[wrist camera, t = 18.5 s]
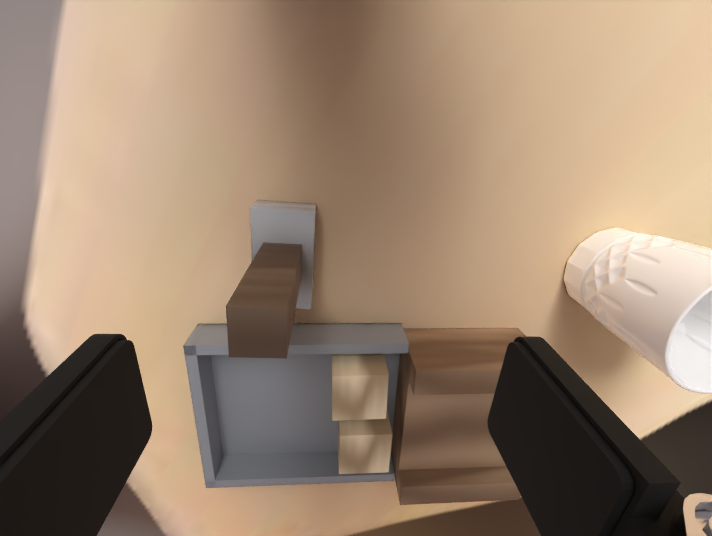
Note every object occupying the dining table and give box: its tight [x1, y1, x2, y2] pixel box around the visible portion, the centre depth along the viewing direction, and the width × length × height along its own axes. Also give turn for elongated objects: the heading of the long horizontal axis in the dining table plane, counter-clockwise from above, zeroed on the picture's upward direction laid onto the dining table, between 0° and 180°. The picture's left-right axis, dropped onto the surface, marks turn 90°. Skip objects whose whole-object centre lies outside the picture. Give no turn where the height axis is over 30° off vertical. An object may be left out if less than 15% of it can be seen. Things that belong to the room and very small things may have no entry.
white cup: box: [564, 227, 712, 393], centre depth 24 cm, size 8×8×10 cm
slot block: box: [391, 328, 526, 505], centre depth 29 cm, size 13×10×6 cm
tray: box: [183, 323, 409, 488], centre depth 29 cm, size 14×16×3 cm
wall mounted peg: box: [226, 200, 316, 359], centre depth 21 cm, size 7×4×12 cm, turn 175°
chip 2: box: [338, 411, 392, 474], centre depth 29 cm, size 4×4×4 cm
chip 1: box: [332, 354, 389, 421], centre depth 27 cm, size 4×4×4 cm
